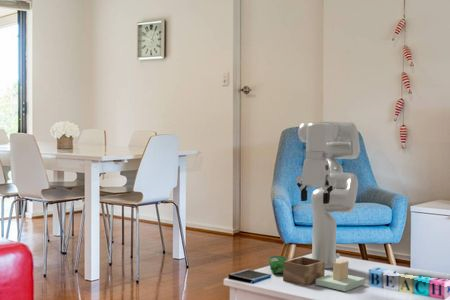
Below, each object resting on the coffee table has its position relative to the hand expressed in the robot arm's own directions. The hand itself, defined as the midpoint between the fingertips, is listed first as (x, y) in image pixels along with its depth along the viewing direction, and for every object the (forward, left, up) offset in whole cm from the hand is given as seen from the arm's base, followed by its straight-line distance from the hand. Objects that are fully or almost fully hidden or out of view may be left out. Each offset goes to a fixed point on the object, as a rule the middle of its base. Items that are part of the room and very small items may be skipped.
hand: (314, 202), depth 213 cm
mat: (+2, +13, -28) cm, 31 cm away
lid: (+2, +13, -28) cm, 31 cm away
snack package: (+1, -15, -29) cm, 32 cm away
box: (+6, 0, -28) cm, 29 cm away
